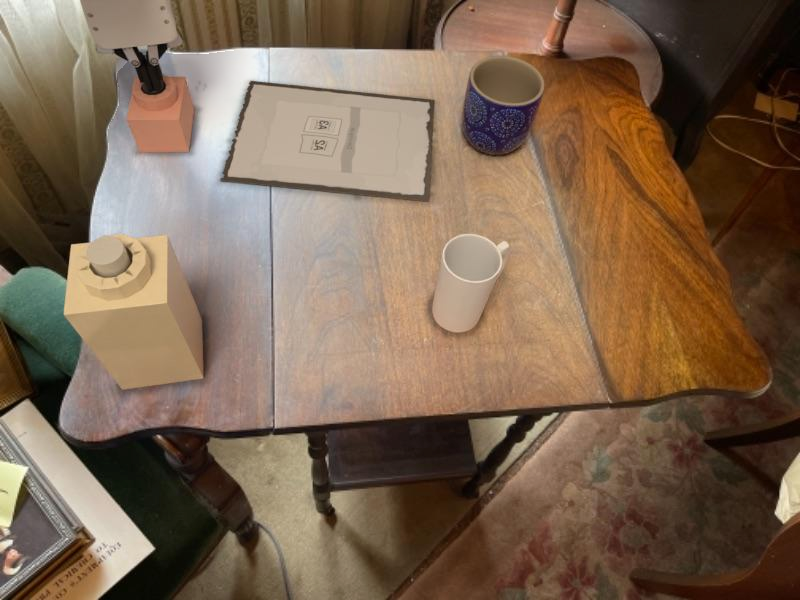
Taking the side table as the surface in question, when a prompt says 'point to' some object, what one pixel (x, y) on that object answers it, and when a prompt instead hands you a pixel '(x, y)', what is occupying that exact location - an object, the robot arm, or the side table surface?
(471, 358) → the side table surface
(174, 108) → the orange push button box
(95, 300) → the tan box with knob
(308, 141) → the picture frame
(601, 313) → the side table surface
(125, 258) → the grey push button
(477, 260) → the mug
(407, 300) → the side table surface
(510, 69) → the planter
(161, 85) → the black push button
